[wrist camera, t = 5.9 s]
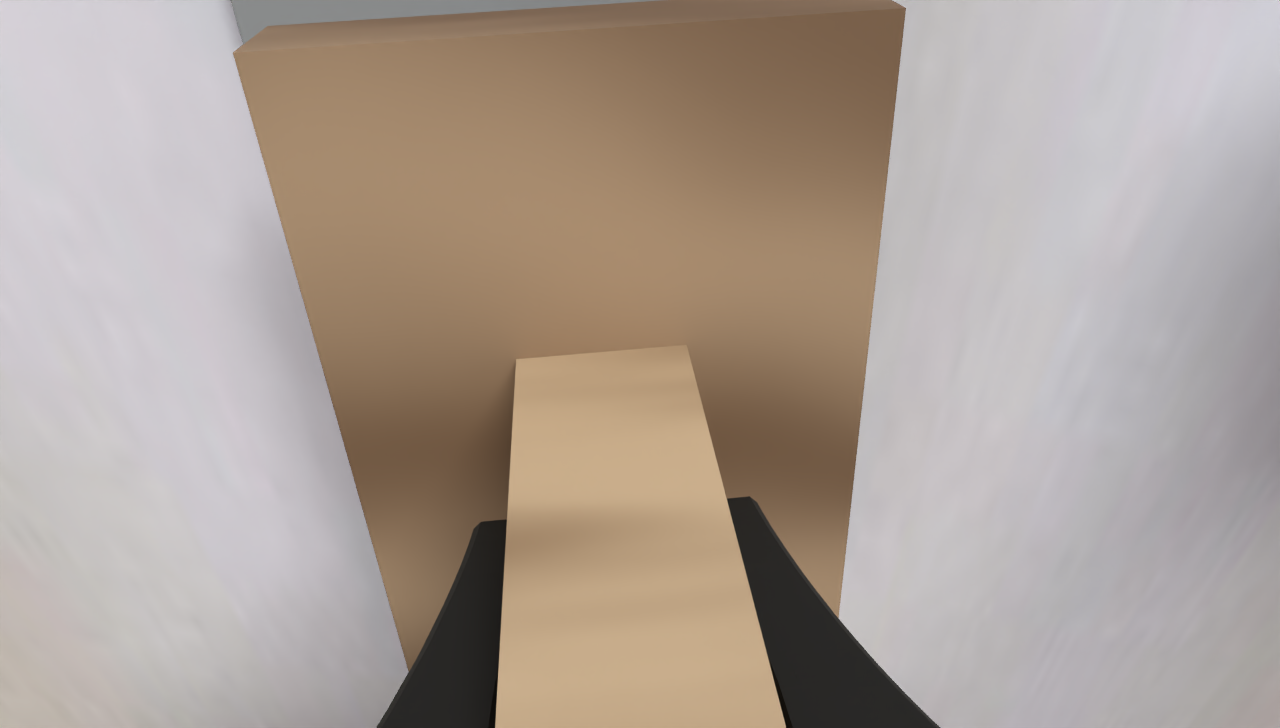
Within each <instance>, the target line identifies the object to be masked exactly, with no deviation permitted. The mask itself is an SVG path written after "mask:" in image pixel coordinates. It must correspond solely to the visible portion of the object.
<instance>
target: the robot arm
mask: <svg viewBox="0 0 1280 728" xmlns="http://www.w3.org/2000/svg"><path fill="white" fill-rule="evenodd" d="M727 502H728V506H729V510H730V514H731V517H732V521H733V525H734V529H735V533H736V537H737V540H738V544H739V548H740V552H741V556H742V560H743V563H744V567H745V571H746V575H747V579H748V583H749V587H750V590H751V594H752V598H753V602H754V606H755V610H756V613H757V617H758V621H759V625H760V629H761V633H762V637H763V640H764V644H765V648H766V652H767V656H768V660H769V663H770V667H771V671H772V675H773V679H774V683H775V687H776V690H777V694H778V698H779V702H780V706H781V710H782V713H783V717H784V721H785V725H786V728H940V727H939V726H938V725H937V724H936V723H935V722H934V721H933V720H931V719H930V718H929V717H928V716H927V715H926V714H925V713H924V712H923V711H922V710H921V709H920V708H919V707H918V706H917V705H916V704H915V703H914V702H913V701H912V700H911V699H910V698H909V697H908V696H907V695H906V694H905V693H904V692H903V691H902V690H901V689H900V687H899V686H898V685H897V684H896V683H895V682H894V681H893V680H892V679H891V678H890V677H889V676H888V675H887V674H886V673H885V672H884V670H883V669H882V668H881V667H880V666H879V665H878V664H877V663H876V662H875V661H874V659H873V658H872V657H871V656H870V655H869V654H868V653H867V651H866V650H865V649H864V648H863V647H862V646H861V645H860V643H859V642H858V641H857V640H856V639H855V638H854V637H853V635H852V634H851V633H850V632H849V631H848V629H847V628H846V627H845V626H844V625H843V623H842V622H841V621H840V620H839V619H838V617H837V616H836V615H835V614H834V612H833V611H832V610H831V608H830V607H829V606H828V605H827V603H826V602H825V601H824V599H823V598H822V597H821V596H820V594H819V593H818V592H817V591H816V589H815V588H814V587H813V585H812V584H811V583H810V581H809V580H808V579H807V577H806V576H805V575H804V573H803V572H802V571H801V569H800V568H799V566H798V565H797V564H796V562H795V561H794V559H793V558H792V556H791V555H790V554H789V552H788V551H787V549H786V548H785V546H784V545H783V543H782V542H781V540H780V539H779V537H778V536H777V534H776V533H775V531H774V530H773V528H772V527H771V525H770V523H769V522H768V520H767V518H766V517H765V515H764V513H763V512H762V510H761V508H760V506H759V505H758V503H757V502H756V501H755V500H754V499H752V498H751V497H750V496H748V497H737V498H727ZM506 529H507V519H504V520H493V521H483V522H480V523H479V524H478V525H477V526H476V527H475V528H474V529H473V532H472V535H471V538H470V541H469V544H468V547H467V550H466V552H465V555H464V558H463V560H462V563H461V565H460V568H459V570H458V573H457V575H456V578H455V580H454V582H453V584H452V587H451V589H450V591H449V593H448V596H447V598H446V600H445V602H444V605H443V607H442V609H441V611H440V613H439V615H438V617H437V619H436V621H435V623H434V625H433V627H432V629H431V631H430V633H429V635H428V637H427V639H426V641H425V643H424V645H423V647H422V649H421V651H420V653H419V655H418V657H417V659H416V660H415V662H414V664H413V666H412V668H411V669H410V671H409V673H408V675H407V676H406V678H405V680H404V682H403V683H402V685H401V687H400V689H399V690H398V692H397V694H396V696H395V697H394V699H393V701H392V703H391V705H390V706H389V708H388V710H387V711H386V713H385V715H384V716H383V718H382V720H381V721H380V723H379V724H378V726H377V728H495V722H496V704H497V687H498V669H499V652H500V634H501V616H502V599H503V581H504V564H505V546H506Z"/></svg>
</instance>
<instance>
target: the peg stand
mask: <svg viewBox="0 0 1280 728" xmlns="http://www.w3.org/2000/svg"><path fill="white" fill-rule="evenodd" d="M645 1H660V0H231V3H232V6H233V10H234V13H235V17H236V20H237V24H238V27H239V31H240V35H241V38H242V42H243V44H245V43H246V42H247V41H249V40H250V39H251V38H253V37H254V36H255V35H256V34H258V33H259V32H260V31H262V30H263V29H264V28H266V27H267V26H275V25H290V24H306V23H321V22H336V21H352V20H367V19H383V18H398V17H414V16H429V15H444V14H460V13H475V12H491V11H506V10H522V9H537V8H552V7H568V6H583V5H599V4H614V3H630V2H645Z"/></svg>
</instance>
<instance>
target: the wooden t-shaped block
mask: <svg viewBox="0 0 1280 728" xmlns="http://www.w3.org/2000/svg"><path fill="white" fill-rule="evenodd" d="M905 11H906V8H905V7H903V6H901V5H899V4H898V3H896V2H894V1H892V0H660V1H645V2H630V3H614V4H599V5H583V6H568V7H552V8H537V9H522V10H506V11H491V12H475V13H460V14H444V15H429V16H414V17H398V18H383V19H367V20H352V21H336V22H321V23H306V24H290V25H275V26H267V27H266V28H264V29H263V30H262V31H260V32H259V33H258V34H256V35H255V36H254V37H253V38H251V39H250V40H249V41H247V42H246V43H245V44H243V45H242V46H241V47H240V48H238V49H237V50H236V51H234V52H233V55H234V58H235V62H236V65H237V69H238V72H239V76H240V79H241V83H242V86H243V90H244V93H245V97H246V100H247V104H248V107H249V111H250V115H251V118H252V122H253V125H254V129H255V132H256V136H257V139H258V143H259V146H260V150H261V153H262V157H263V160H264V164H265V167H266V171H267V174H268V178H269V181H270V185H271V188H272V192H273V195H274V199H275V203H276V206H277V210H278V213H279V217H280V220H281V224H282V227H283V231H284V234H285V238H286V241H287V245H288V248H289V252H290V255H291V259H292V262H293V266H294V269H295V273H296V276H297V280H298V283H299V287H300V291H301V294H302V298H303V301H304V305H305V308H306V312H307V315H308V319H309V322H310V326H311V329H312V333H313V336H314V340H315V343H316V347H317V350H318V354H319V357H320V361H321V364H322V368H323V371H324V375H325V378H326V382H327V386H328V389H329V393H330V396H331V400H332V403H333V407H334V410H335V414H336V417H337V421H338V424H339V428H340V431H341V435H342V438H343V442H344V445H345V449H346V452H347V456H348V459H349V463H350V466H351V470H352V474H353V477H354V481H355V484H356V488H357V491H358V495H359V498H360V502H361V505H362V509H363V512H364V516H365V519H366V523H367V526H368V530H369V533H370V537H371V540H372V544H373V547H374V551H375V554H376V558H377V561H378V565H379V569H380V572H381V576H382V579H383V583H384V586H385V590H386V593H387V597H388V600H389V604H390V607H391V611H392V614H393V618H394V621H395V625H396V628H397V632H398V635H399V639H400V642H401V646H402V649H403V653H404V657H405V660H406V664H407V667H408V671H410V669H411V668H412V666H413V664H414V662H415V660H416V659H417V657H418V655H419V653H420V651H421V649H422V647H423V645H424V643H425V641H426V639H427V637H428V635H429V633H430V631H431V629H432V627H433V625H434V623H435V621H436V619H437V617H438V615H439V613H440V611H441V609H442V607H443V605H444V602H445V600H446V598H447V596H448V593H449V591H450V589H451V587H452V584H453V582H454V580H455V578H456V575H457V573H458V570H459V568H460V565H461V563H462V560H463V558H464V555H465V552H466V550H467V547H468V544H469V541H470V538H471V535H472V532H473V529H474V528H475V527H476V526H477V525H478V524H479V523H480V522H483V521H493V520H504V519H507V529H506V546H505V564H504V581H503V599H502V616H501V634H500V652H499V669H498V687H497V704H496V722H495V728H786V725H785V721H784V717H783V713H782V710H781V706H780V702H779V698H778V694H777V690H776V687H775V683H774V679H773V675H772V671H771V667H770V663H769V660H768V656H767V652H766V648H765V644H764V640H763V637H762V633H761V629H760V625H759V621H758V617H757V613H756V610H755V606H754V602H753V598H752V594H751V590H750V587H749V583H748V579H747V575H746V571H745V567H744V563H743V560H742V556H741V552H740V548H739V544H738V540H737V537H736V533H735V529H734V525H733V521H732V517H731V514H730V510H729V506H728V502H727V498H737V497H748V496H750V497H751V498H752V499H754V500H755V501H756V502H757V503H758V505H759V506H760V508H761V510H762V512H763V513H764V515H765V517H766V518H767V520H768V522H769V523H770V525H771V527H772V528H773V530H774V531H775V533H776V534H777V536H778V537H779V539H780V540H781V542H782V543H783V545H784V546H785V548H786V549H787V551H788V552H789V554H790V555H791V556H792V558H793V559H794V561H795V562H796V564H797V565H798V566H799V568H800V569H801V571H802V572H803V573H804V575H805V576H806V577H807V579H808V580H809V581H810V583H811V584H812V585H813V587H814V588H815V589H816V591H817V592H818V593H819V594H820V596H821V597H822V598H823V599H824V601H825V602H826V603H827V605H828V606H829V607H830V608H831V610H832V611H833V612H834V614H835V615H836V616H837V617H839V607H840V598H841V589H842V580H843V571H844V562H845V553H846V544H847V535H848V526H849V517H850V508H851V499H852V490H853V481H854V472H855V463H856V454H857V445H858V436H859V427H860V418H861V409H862V400H863V391H864V382H865V373H866V364H867V354H868V345H869V336H870V327H871V318H872V309H873V300H874V291H875V282H876V273H877V264H878V255H879V246H880V237H881V228H882V219H883V210H884V201H885V192H886V183H887V174H888V165H889V156H890V147H891V138H892V129H893V120H894V111H895V101H896V92H897V83H898V74H899V65H900V56H901V47H902V38H903V29H904V20H905Z"/></svg>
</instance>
